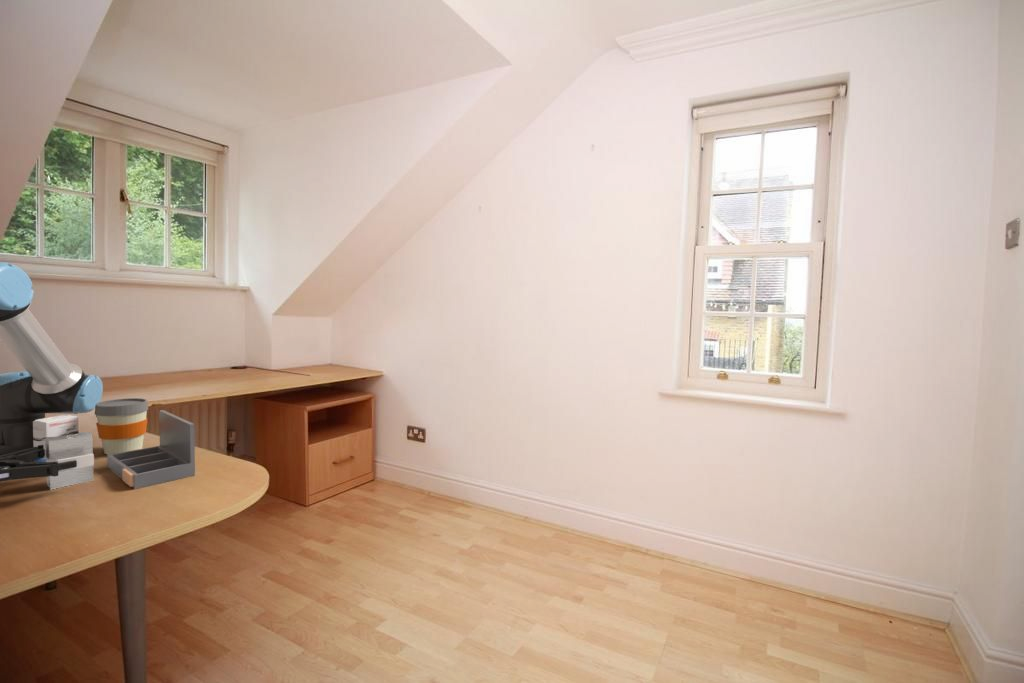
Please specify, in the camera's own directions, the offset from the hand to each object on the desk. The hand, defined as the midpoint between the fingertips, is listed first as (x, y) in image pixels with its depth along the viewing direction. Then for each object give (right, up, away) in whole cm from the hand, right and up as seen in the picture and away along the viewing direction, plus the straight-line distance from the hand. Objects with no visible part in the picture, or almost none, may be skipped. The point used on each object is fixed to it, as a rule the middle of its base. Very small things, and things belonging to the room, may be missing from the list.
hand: (86, 453), depth 121 cm
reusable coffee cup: (-10, -5, +23) cm, 26 cm away
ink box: (-22, -5, +15) cm, 27 cm away
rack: (+10, -7, +8) cm, 14 cm away
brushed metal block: (-2, -7, -2) cm, 8 cm away
